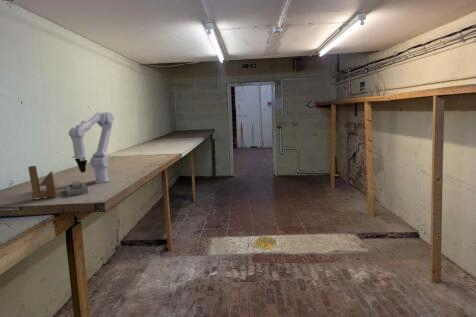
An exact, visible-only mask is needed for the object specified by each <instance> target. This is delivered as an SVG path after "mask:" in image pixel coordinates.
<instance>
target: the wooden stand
mask: <svg viewBox="0 0 476 317" xmlns="http://www.w3.org/2000/svg"><path fill="white" fill-rule="evenodd" d="M27 169H28V173H29V178H30V179H29V180H30V184H31V189H32V190H31V191H32V193H31V195H32V200H33V199H34V198H44V197H53V198H56V197H57V192H56V191H57V190H56V185H55V181H54V174H53V170H51V171H50V172H49V173H47V174H48V175H46V177H44V179H43V180H42V181H41V182H40V180H39V176H38V175H39V174H38V170H37V166H36V165H30V166H28V167H27ZM41 187H45V189H46V190H41Z"/></svg>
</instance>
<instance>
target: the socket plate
mask: <svg viewBox="0 0 476 317" xmlns="http://www.w3.org/2000/svg"><path fill="white" fill-rule="evenodd" d="M65 191H66V194H67V197H68V196H71V197H74V196H73V195H76V196H80V195H79V194H81V195H84V194H83V193H87V194H89V190H88V187H87V185H86V183H85V182H84V181H83V182H80V186H77V187H72V183H71V184H65Z"/></svg>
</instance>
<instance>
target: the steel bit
mask: <svg viewBox="0 0 476 317" xmlns="http://www.w3.org/2000/svg"><path fill="white" fill-rule="evenodd" d="M70 180H71V181H70V183H71V184H72V187H77V186H80V183H81V181H80V178H79V177H74V178H70Z"/></svg>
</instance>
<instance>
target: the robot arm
mask: <svg viewBox="0 0 476 317" xmlns="http://www.w3.org/2000/svg"><path fill="white" fill-rule="evenodd" d="M113 122H114V116H113V114H112V112H110V111H108V112H105V111H104V112H96V113H94V114H93V116H91V117H90V118H89V119H88V120H81V121H80V123H79V124H77V125H76V126H75V127H71V128H70V129H69V131H68V136H69V137H70V139H71V140H70V141H71V142H72V147H73V154H74V156H72V159H74V161H75V162H76V164H77V166H78V170H79V171H80V173H86V170H87V169H86V168H87V162H88V160H87V159H86V157H87V155H86V149H85V148H86V147H85V142H84V136H85V134H86V133H87V132H88V131H89V130H91V128H92V126H94V125H95V124H97V125H98V127H100V128H101V132H100V137H99V141H98V146H97V149H96V152H93V154H92V156H91V158H90V159H89V160H90V161H89V164H90V166H91V167H92V168H93V170H94V177H95V179H94V180H93V181H94V182H95V184H102V183H106V182H110V181H111V180H110V179H109V176H108V169H107V167H108V166H109V164H110V161H109V159H110V156H109V155H108V154H107V152H108V151H107V150H108V146H109V142H110V137H111V134H112V133H111V132H112V127H113Z"/></svg>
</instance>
